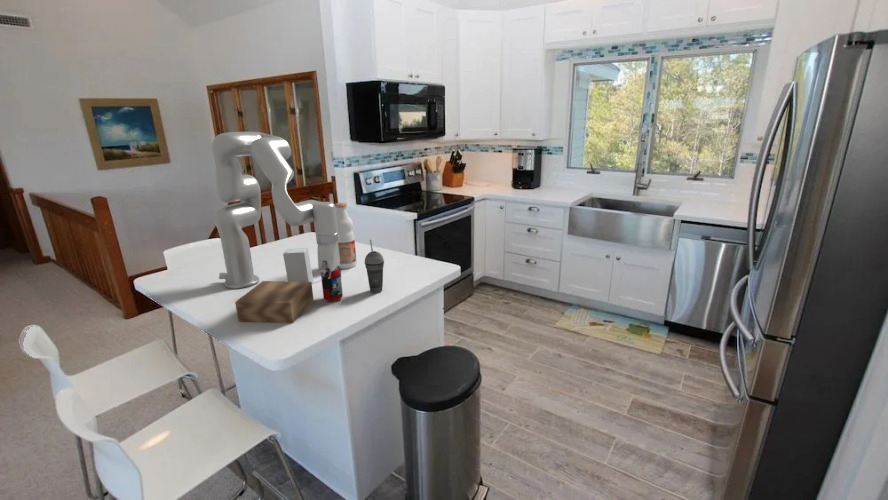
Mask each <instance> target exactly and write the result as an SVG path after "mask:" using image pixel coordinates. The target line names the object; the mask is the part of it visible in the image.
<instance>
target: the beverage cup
mask: <svg viewBox="0 0 888 500" xmlns="http://www.w3.org/2000/svg"><path fill="white" fill-rule="evenodd" d="M369 243H370V244H369V245H370V249H371V250H370V251H369V252H368V253H367V254H366V256H365V257H364V258H365V259H364V265H365V269H366V275H367V279H368V281H367V282H368V285H369V286H368V287H369V292H370V293H371V294H379V293H381V292H383V286H384V285H383V284H384V283H383V282H384V266H385V259H384V256H383V255H382V253H381V252H379V251H377V250H375V251H374V249H373V242H372V239H369Z"/></svg>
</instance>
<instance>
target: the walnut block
mask: <svg viewBox="0 0 888 500" xmlns="http://www.w3.org/2000/svg"><path fill="white" fill-rule="evenodd" d="M314 300H315V299H314V293H313V284H312V282H292V281H288V280H287V281H286V280H285V281H283V280H282V281H281V280H279V281H278V280H277V281H276V280H273V281H271V280H262V281H261V282H259V283H258V284H256V286H253V288H251V289H250V290H249V291H248V292H247V293H245V294H244V295H242V296H241V297H240V298H239V299H237V300H236V301H235V310H236V315H237V321H238V322H239V323H273V324H274V323H278V324H279V323H280V324H282V323H284V324H285V323H286V324H293V323H294V322H295V321H296V320H297V319H298V318H299V316H301V314H302V313H304V312H305V310H306V309H307V308H308V307H309V306H310V304H311V303H312V302H313V301H314Z"/></svg>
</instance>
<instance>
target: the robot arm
mask: <svg viewBox="0 0 888 500" xmlns="http://www.w3.org/2000/svg"><path fill="white" fill-rule="evenodd" d="M211 152H212V156H213V161H214V164H215V165H214V166H215V180H216V181H215V182H216V195H217V197H218V199H219V200H220V201H221V202H223V203H229V204H228V205H224V206H222V207H219V208H218V209H216V211H215V212H214V214H213V220H214V221H213V222H214V224H215V226H216V228H217V231H218V235H219V238H220V243H221V248H222V254H223V259H224V264H225V270H226V272H220V273H219V276H218V279H219V280H225V281H224V283H223V284H224V287H225V288H227V289H233V290H234V289H235V290H236V289H237V290H238V289H244V288H248V287H252V286H254V285H257V283H258V284H259V282H260V277H259V276H257V275H255V272H254V267H253V266H254V265H253V259H252V253H251V247H250V241H249V238H248V235H247V234H246V233H245V232H244V231H243V228H246V227H250V226H252V225H255V224H257V223H258V222H259V221H260V220H261V217H262V216H261V215H262V199H261V197H262V196H261V195H262V194H261V192H262V191H261V186H260V184H259V182H258V180H257V178H255V177H254V176H253V175H251V174H242V173H243V172H242V169H243V168H242V165H241V162H240V161H239V159H238V157H240V158H241V157H249V156H251V157H253V159H254V161H255V162H256V164H257V165H258V166H259V168H260V169H261V170H262V172H263V173H264V175H265V176H266V177H267V179H268V180H269V182H270V183H271V197H272V203H273V206H274V208H275V209H276V211H277V212H278V214H279V215H280V216H281V218H282V220H284V221H285V223H287V224H288V225H289V226H291V227H300V226H303V225H306V224H309V223H313V224H314V232H315V240H316V244H317V267H318V271H319V272H320V276H321V277H322V279H321V282H322V281H323V288H322V290H323V289H324V290H332V289H333V285H332V278H331V272H332V271H334V270H335V269H336V268H337V267H338V268H340V254H339V247H338V242H339V236H338V226H337V217H336V208H335V203H333V202H331V201H320V200H315V199H308V200H304V201H299V202H294V201H293V200H292V198H291V197H290V195H289V194H288V191H287V184H288V183H289V182H291V181H292V179H294V176H295V172H294V169H293V168H292V167H291V165H290V164H289V163H288V162H287V160H288V159H289V158H290V157H291V154H292V149H291V146H290V144H289V143H288V141H287V140H286V139H284V138H283V137H280V136H277V135H273V134H269V133H264V132H260V131H231V132H229V131H228V132H223V133H219V134H217V135H216V136H215V137H214V138H213V140H212V142H211ZM231 203H233V204H231ZM326 269H329V270H326ZM339 270H340V272H341V273H342V271H341V269H339ZM327 273H328V274H327ZM321 277H320V278H321Z"/></svg>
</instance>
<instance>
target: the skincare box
mask: <svg viewBox="0 0 888 500" xmlns="http://www.w3.org/2000/svg"><path fill="white" fill-rule="evenodd" d="M282 256H283V261H284V267H285V272H286V273H285V274H286V277H287V278H286V279H287V281H292V282H312V285H313V283H314V277H313V276H314V275H313V271H312V270H313V269H312V265H311V258H310V252H309V247H300V248H287V249H286V250H285V251H284V252H283V253H282Z"/></svg>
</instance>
